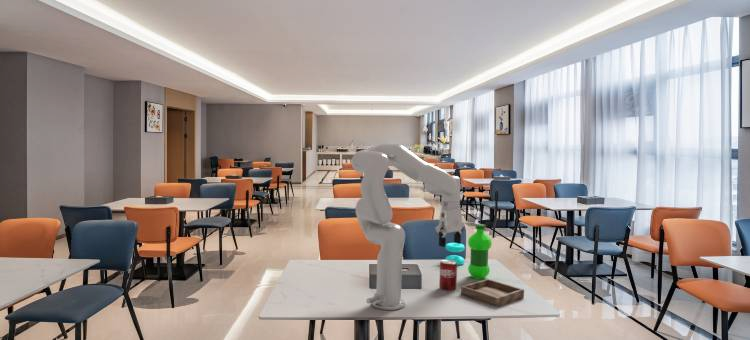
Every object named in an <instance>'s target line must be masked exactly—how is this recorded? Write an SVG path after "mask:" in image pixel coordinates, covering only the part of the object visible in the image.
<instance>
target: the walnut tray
mask: <svg viewBox="0 0 750 340" xmlns="http://www.w3.org/2000/svg"><path fill="white" fill-rule="evenodd" d="M460 295H461V296H463V297H466V298H470V299H472V300H475V301H477V302H481V303H484V304H486V305H489V306H493V307H496V308H500V307H502V306H505V305H508V304H510V303H513V302H517V301H520V300H522V299H524V297H525V289H523V288H520V287H516V286H513V285H510V284H507V283H503V282H499V281H496V280H493V279H489V278H486V279H481V280H479V281H475V282H473V283H468V284H464V285H461V287H460Z"/></svg>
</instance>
